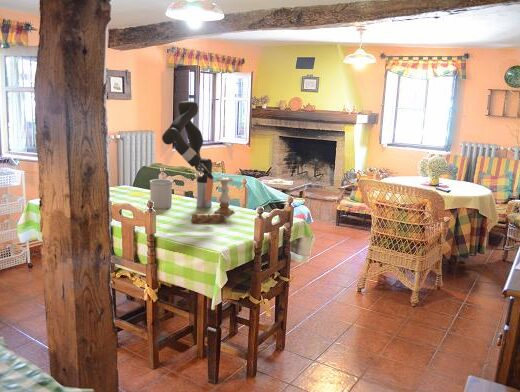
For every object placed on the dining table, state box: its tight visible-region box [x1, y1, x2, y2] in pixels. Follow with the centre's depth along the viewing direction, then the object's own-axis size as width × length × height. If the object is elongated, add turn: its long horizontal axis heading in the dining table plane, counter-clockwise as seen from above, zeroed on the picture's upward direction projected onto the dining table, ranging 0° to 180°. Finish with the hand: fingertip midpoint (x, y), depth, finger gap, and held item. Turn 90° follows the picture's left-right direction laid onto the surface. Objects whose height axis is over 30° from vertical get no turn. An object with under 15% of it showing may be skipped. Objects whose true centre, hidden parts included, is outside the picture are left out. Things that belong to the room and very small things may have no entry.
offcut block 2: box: [208, 213, 220, 218], centre depth 275 cm, size 6×3×4 cm, turn 101°
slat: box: [205, 176, 215, 201], centre depth 275 cm, size 4×2×14 cm, turn 101°
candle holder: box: [213, 177, 236, 217], centre depth 295 cm, size 11×11×24 cm
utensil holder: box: [149, 178, 173, 210], centre depth 314 cm, size 15×15×18 cm
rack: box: [190, 213, 227, 225], centre depth 277 cm, size 20×11×4 cm, turn 101°
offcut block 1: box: [197, 213, 209, 218], centre depth 274 cm, size 6×3×4 cm, turn 101°
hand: (212, 177), depth 275 cm, fingers closed on slat, 1 cm apart
